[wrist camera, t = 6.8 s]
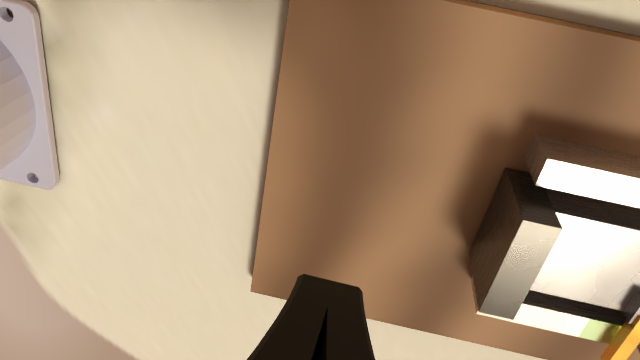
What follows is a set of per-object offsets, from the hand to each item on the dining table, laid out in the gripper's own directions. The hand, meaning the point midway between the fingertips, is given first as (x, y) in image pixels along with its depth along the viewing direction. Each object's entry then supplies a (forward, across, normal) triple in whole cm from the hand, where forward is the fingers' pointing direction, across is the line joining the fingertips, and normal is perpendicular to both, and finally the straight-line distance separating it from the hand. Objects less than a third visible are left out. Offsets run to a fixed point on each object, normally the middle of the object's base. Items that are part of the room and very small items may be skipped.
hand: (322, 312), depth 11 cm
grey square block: (+8, -9, +3) cm, 12 cm away
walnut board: (+9, -6, +2) cm, 11 cm away
